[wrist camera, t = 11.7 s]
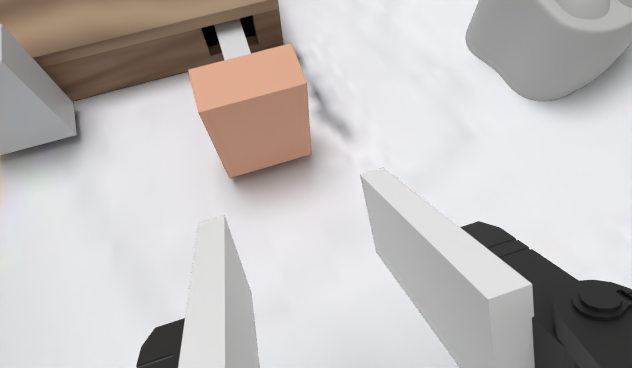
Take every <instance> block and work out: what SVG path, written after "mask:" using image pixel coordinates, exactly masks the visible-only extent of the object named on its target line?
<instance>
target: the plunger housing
mask: <svg viewBox="0 0 632 368" xmlns="http://www.w3.org/2000/svg"><path fill="white" fill-rule="evenodd" d="M251 15H252V19H253V24H254V29H255V34H256V35H254V36H250V37H246V40H247V43H248V46H249V49H250V52H251V53H255V52H259V51H263V50H267V49H270V48H274V47H278V46H282V45H283V38H282V30H281V22H280V14H279V6H278V0H0V24H2V25H3V26H4V27H5V28H6V29H7V30H8V32H9V33H10V34H11V35H12V36H13V37H14V38H15V39H16V40H17V41H18V43H19V44H20V45H21V46H22V47H23V48H24V49H25V50H26V51H27V52H28V54H29V55H30V56H31V57H32V58H33V59H34V60H35V61H36V62H37V64H38V65H39V66H40V67H41V68H42V69H43V70H44V71H45V72H46V73H47V75H48V76H49V77H50V78H51V79H52V80H53V81H54V82H55V83H56V84H57V86H58V87H59V88H60V89H61V90H62V91H63V92H64V93H65V94H66V95H67V97H68V98H69V99H70V100H71V101H75V100H79V99H83V98H87V97H90V96H94V95H98V94H102V93H106V92H110V91H114V90H118V89H121V88H125V87H129V86H133V85H137V84H141V83H145V82H148V81H152V80H156V79H160V78H164V77H168V76H172V75H176V74H179V73H183V72H187V71H188V70H189V69H193V68H197V67H201V66H205V65H208V64H212V63H216V62H220V61H224V57H223V53H222V50H221V47H220V44H219V45H215V46H211V47H208V45H207V43H206V40H205V37H204V34H203V31H202V28H203V27H207V26H211V25H215V24H219V23H223V22H227V21H231V20H235V19H239V18H243V17H247V16H251Z"/></svg>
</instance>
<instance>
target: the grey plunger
mask: <svg viewBox="0 0 632 368" xmlns="http://www.w3.org/2000/svg"><path fill="white" fill-rule="evenodd" d="M75 135H76V124H75V113H74V103H73V102H72V101H71V100H70V99H69V98H68V97H67V95H66V94H65V93H64V92H63V91H62V90H61V89H60V88H59V87H58V86H57V84H56V83H55V82H54V81H53V80H52V79H51V78H50V77H49V76H48V75H47V73H46V72H45V71H44V70H43V69H42V68H41V67H40V66H39V65H38V64H37V62H36V61H35V60H34V59H33V58H32V57H31V56H30V55H29V54H28V52H27V51H26V50H25V49H24V48H23V47H22V46H21V45H20V44H19V43H18V41H17V40H16V39H15V38H14V37H13V36H12V35H11V34H10V33H9V32H8V30H7V29H6V28H5V27H4V26H3V25H2V24H0V155H4V154H7V153H11V152H15V151H19V150H22V149H26V148H30V147H34V146H37V145H41V144H45V143H49V142H52V141H56V140H60V139H64V138H67V137H71V136H75Z"/></svg>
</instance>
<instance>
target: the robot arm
mask: <svg viewBox="0 0 632 368" xmlns="http://www.w3.org/2000/svg"><path fill="white" fill-rule="evenodd" d="M360 177H361V182H362V187H363V192H364V196H365V201H366V206H367V211H368V215H369V220H370V225H371V230H372V234H373V239H374V244H375V249H376V253H377V254H378V255H379V257H380V258H381V260H382V261H383V262H384V264H385V265H386V266H387V268H388V269H389V271H390V272H391V273H392V275H393V276H394V278H395V279H396V280H397V282H398V283H399V284H400V286H401V287H402V289H403V290H404V291H405V293H406V294H407V295H408V297H409V298H410V300H411V301H412V302H413V304H414V305H415V307H416V308H417V309H418V311H419V312H420V313H421V315H422V316H423V318H424V319H425V320H426V322H427V323H428V324H429V326H430V327H431V329H432V330H433V331H434V333H435V334H436V336H437V337H438V338H439V340H440V341H441V342H442V344H443V345H444V347H445V348H446V349H447V351H448V352H449V353H450V355H451V356H452V358H453V359H454V360H455V362H456V363H457V365H458V366H459V367H460V368H632V290H631V289H630V288H627V287H624V286H621V285H618V284H615V283H612V282H606V281H598V280H584V281H578V280H577V279H575V278H574V277H572V276H571V275H569V274H568V273H566V272H565V271H563V270H562V269H560V268H559V267H558V266H556V265H555V264H553V263H552V262H550V261H549V260H547V259H546V258H544V257H543V256H541V255H540V254H538V253H537V252H535V251H534V250H532V249H531V250H530V249H529V247H528V246H526V245H525V244H523V243H522V242H520V241H519V240H517V241H516V239H515V238H514V237H513V236H512V235H510V234H509V233H507V232H506V231H504V230H503V229H501V228H499V227H496V226H493V225H489V224H486V223H483V222H479V221H478V222H475V223H472V224H469V225H466V226H463V227H459V226H458V225H456V224H455V223H454V222H453V221H451V220H450V219H449V218H448V217H446V216H445V215H444V214H442V213H441V212H440V211H439V210H437V209H436V208H435V207H434V206H432V205H431V204H430V203H428V202H427V201H426V200H425V199H423V198H422V197H421V196H420V195H418V194H417V193H416V192H414V191H413V190H412V189H411V188H409V187H408V186H407V185H406V184H404V183H403V182H402V181H400V180H399V179H398V178H397V177H395V176H394V175H393V174H392V173H390V172H389V171H388V170H386V169H385V168H384V167H383V168H380V169H376V170H373V171H370V172H366V173H363V174H360ZM136 366H137V368H260V366H259V357H258V348H257V339H256V330H255V321H254V312H253V303H252V293H251V290H250V287H249V284H248V281H247V279H246V276H245V273H244V270H243V267H242V264H241V261H240V258H239V256H238V253H237V250H236V247H235V244H234V241H233V238H232V235H231V233H230V230H229V227H228V224H227V221H226V218H225V215H223V216H220V217H216V218H213V219H210V220H206V221H203V222H200V223H198V229H197V237H196V244H195V251H194V258H193V265H192V272H191V279H190V287H189V294H188V301H187V308H186V315H185V318H184V319H181V320H178V321H175V322H172V323H169V324H166V325H162V326H159V327H156V328H155V329H154V330H153V332H152V333H151V334H150V336H149V337H148V339H147V340H146V341H145V343H144V344H143V345H142V347H141V350H140V354H139V358H138V362H137V365H136Z"/></svg>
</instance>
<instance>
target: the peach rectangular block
mask: <svg viewBox="0 0 632 368" xmlns="http://www.w3.org/2000/svg"><path fill="white" fill-rule="evenodd" d="M214 26H215V30H216V33H217V36H218V40H219V43H220V47H221V50H222V53H223V57H224V61H220V62H216V63H212V64H208V65H205V66H201V67H197V68H193V69H189V70H188V72H189V76H190V80H191V84H192V88H193V92H194V96H195V101H196V105H197V109H198V113H199V115H200V117H201V119H202V121H203V123H204V125H205V128H206V130H207V132H208V134H209V136H210V138H211V140H212V142H213V144H214V147H215V149H216V151H217V153H218V155H219V157H220V159H221V161H222V164H223V166H224V168H225V170H226V172H227V174H228V176H229V178H232V177H235V176H239V175H242V174H246V173H249V172H252V171H256V170H259V169H263V168H266V167H270V166H273V165H277V164H280V163H283V162H287V161H290V160H294V159H297V158H301V157H304V156H308V155H311V141H310V125H309V108H308V91H307V82H306V79H305V77H304V74H303V72H302V69H301V66H300V64H299V61H298V59H297V56H296V54H295V51H294V48H293V46H292V43H290V44H286V45H282V46H278V47H274V48H270V49H267V50H263V51H259V52H255V53H251V52H250V49H249V46H248V43H247V40H246V37H245V34H244V31H243V28H242V25H241V22H240V19H235V20H231V21H227V22H223V23H219V24H215V25H214Z"/></svg>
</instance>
